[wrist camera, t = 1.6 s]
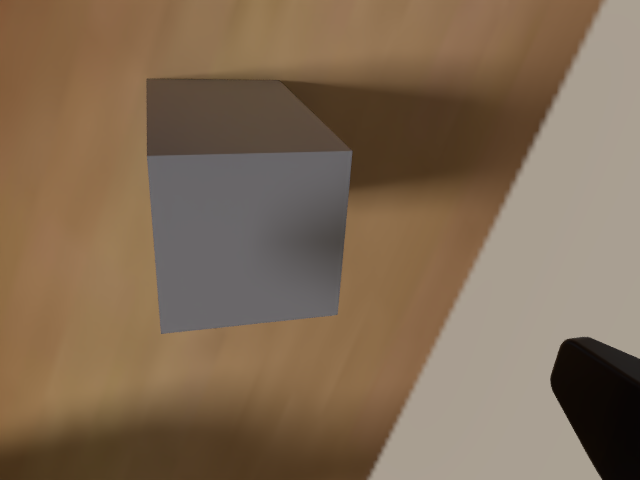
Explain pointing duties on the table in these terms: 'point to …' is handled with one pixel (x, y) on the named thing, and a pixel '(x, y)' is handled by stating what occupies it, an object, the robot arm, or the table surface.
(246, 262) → the grey rectangular block
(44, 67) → the table surface
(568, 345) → the robot arm
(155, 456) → the table surface
